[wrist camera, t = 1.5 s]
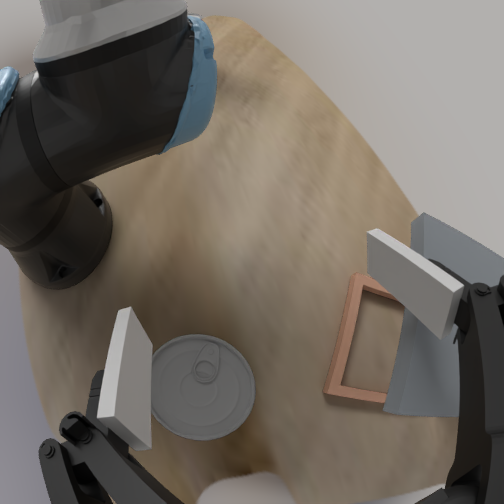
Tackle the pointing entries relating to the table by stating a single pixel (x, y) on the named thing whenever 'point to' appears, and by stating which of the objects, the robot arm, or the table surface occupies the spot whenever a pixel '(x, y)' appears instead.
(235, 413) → the canned tomato
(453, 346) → the awning
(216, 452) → the table surface
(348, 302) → the pink square frame
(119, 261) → the table surface
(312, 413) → the table surface
